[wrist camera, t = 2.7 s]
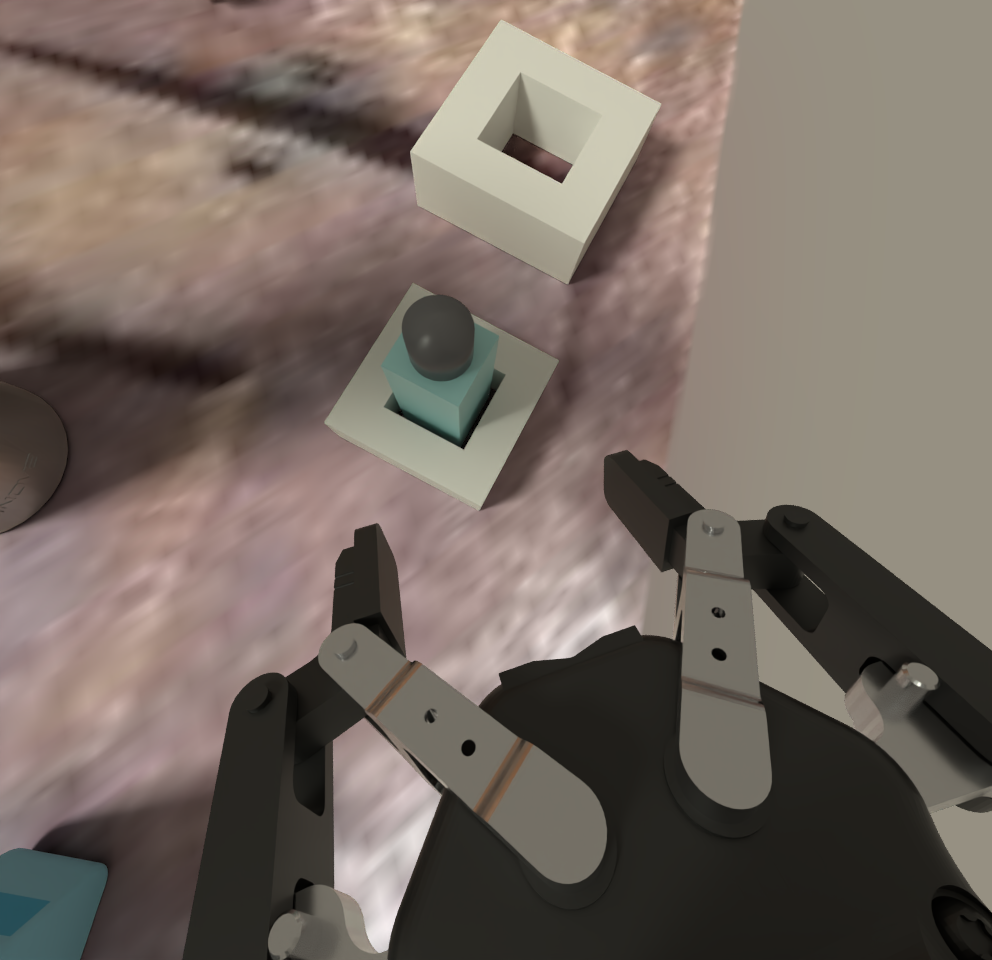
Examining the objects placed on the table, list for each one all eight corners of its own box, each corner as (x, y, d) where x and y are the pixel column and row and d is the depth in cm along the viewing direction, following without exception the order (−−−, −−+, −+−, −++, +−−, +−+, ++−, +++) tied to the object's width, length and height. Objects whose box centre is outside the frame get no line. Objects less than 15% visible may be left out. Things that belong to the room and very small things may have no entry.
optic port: (417, 205, 29) (410, 151, 25) (496, 86, 31) (500, 19, 27) (567, 284, 29) (584, 243, 25) (636, 160, 31) (661, 104, 27)
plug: (405, 419, 26) (370, 344, 17) (435, 368, 27) (419, 267, 17) (460, 448, 26) (457, 390, 17) (488, 396, 27) (503, 311, 17)
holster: (339, 436, 26) (323, 422, 23) (418, 310, 28) (412, 282, 25) (479, 511, 26) (481, 506, 23) (548, 380, 28) (559, 360, 25)
